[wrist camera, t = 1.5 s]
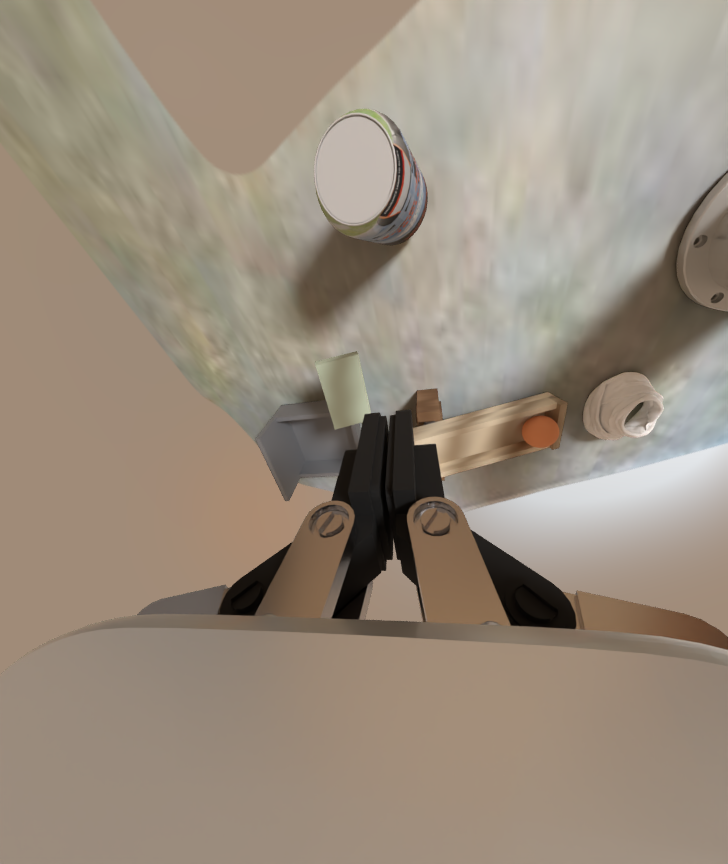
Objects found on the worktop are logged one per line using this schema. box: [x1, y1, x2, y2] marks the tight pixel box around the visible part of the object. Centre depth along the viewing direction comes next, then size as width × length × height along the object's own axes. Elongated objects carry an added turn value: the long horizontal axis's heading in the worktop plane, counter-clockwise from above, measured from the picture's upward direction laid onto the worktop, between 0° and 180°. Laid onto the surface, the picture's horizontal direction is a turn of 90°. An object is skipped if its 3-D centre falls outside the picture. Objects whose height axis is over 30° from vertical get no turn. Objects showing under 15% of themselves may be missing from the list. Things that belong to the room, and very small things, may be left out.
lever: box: [315, 351, 568, 477], centre depth 32 cm, size 24×17×4 cm
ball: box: [522, 416, 559, 448], centre depth 33 cm, size 4×4×4 cm
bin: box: [255, 400, 361, 501], centre depth 39 cm, size 10×10×8 cm
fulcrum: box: [416, 389, 445, 481], centre depth 36 cm, size 3×10×5 cm, turn 11°
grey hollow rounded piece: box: [583, 372, 664, 440], centre depth 32 cm, size 8×7×5 cm
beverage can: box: [314, 109, 427, 245], centre depth 21 cm, size 6×7×12 cm
